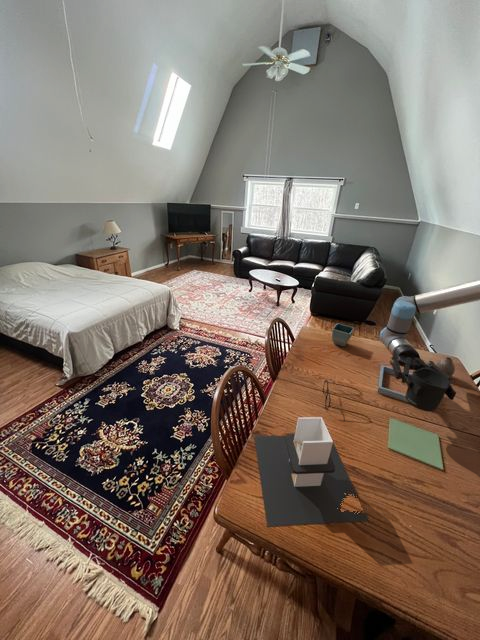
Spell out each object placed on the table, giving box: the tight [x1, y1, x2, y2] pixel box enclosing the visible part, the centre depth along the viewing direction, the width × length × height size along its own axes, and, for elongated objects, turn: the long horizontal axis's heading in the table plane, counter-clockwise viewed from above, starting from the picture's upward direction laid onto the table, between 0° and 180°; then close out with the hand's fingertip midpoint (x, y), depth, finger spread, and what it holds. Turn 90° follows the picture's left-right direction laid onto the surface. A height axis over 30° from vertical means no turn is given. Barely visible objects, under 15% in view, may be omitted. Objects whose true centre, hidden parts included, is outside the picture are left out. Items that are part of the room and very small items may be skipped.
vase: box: [435, 356, 456, 378], centre depth 115 cm, size 7×7×9 cm
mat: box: [387, 417, 444, 471], centre depth 84 cm, size 14×14×1 cm
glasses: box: [322, 379, 371, 421], centre depth 98 cm, size 14×15×5 cm
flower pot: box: [331, 323, 355, 347], centre depth 137 cm, size 9×9×9 cm
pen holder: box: [405, 368, 451, 412], centre depth 83 cm, size 9×9×10 cm
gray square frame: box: [376, 364, 413, 404], centre depth 108 cm, size 18×18×2 cm
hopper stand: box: [253, 416, 370, 528], centre depth 70 cm, size 25×24×16 cm
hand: (436, 394), depth 78 cm, fingers closed on pen holder, 9 cm apart
